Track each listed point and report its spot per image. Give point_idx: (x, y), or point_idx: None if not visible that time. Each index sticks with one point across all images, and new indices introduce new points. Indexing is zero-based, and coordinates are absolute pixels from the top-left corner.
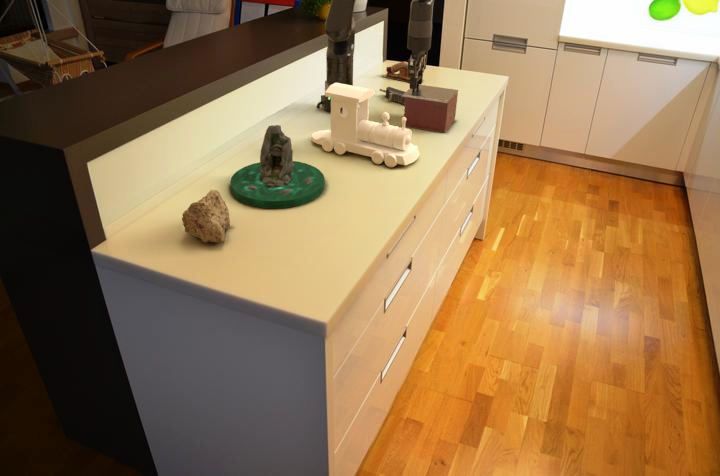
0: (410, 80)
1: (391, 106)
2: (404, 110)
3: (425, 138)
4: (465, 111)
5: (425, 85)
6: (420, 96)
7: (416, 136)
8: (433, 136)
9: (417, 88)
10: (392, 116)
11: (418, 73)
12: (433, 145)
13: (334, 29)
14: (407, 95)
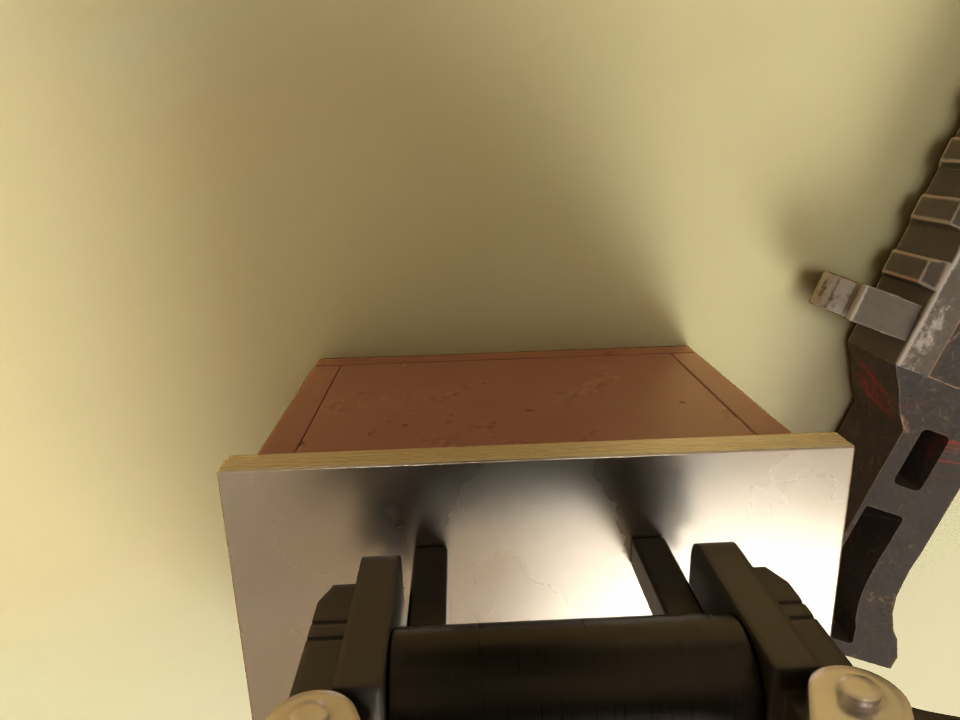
0: (345, 648)
1: (852, 11)
2: (283, 414)
3: (145, 617)
4: (941, 692)
5: (828, 605)
6: (260, 714)
7: (143, 543)
8: (226, 654)
9: (620, 557)
10: (531, 154)
11: (757, 714)
12: (44, 709)
13: None
14: (227, 534)
